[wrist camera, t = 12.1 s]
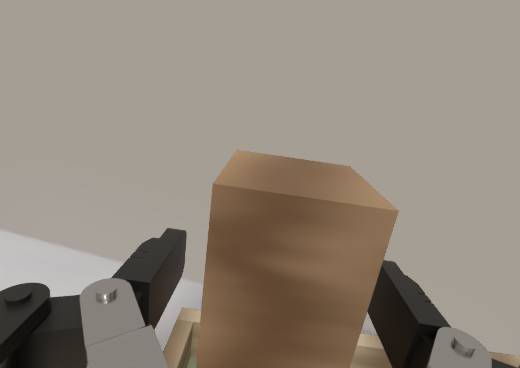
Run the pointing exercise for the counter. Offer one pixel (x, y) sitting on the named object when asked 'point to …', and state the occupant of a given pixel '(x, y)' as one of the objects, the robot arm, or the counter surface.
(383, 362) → the box
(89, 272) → the counter surface
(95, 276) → the counter surface
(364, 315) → the walnut block
